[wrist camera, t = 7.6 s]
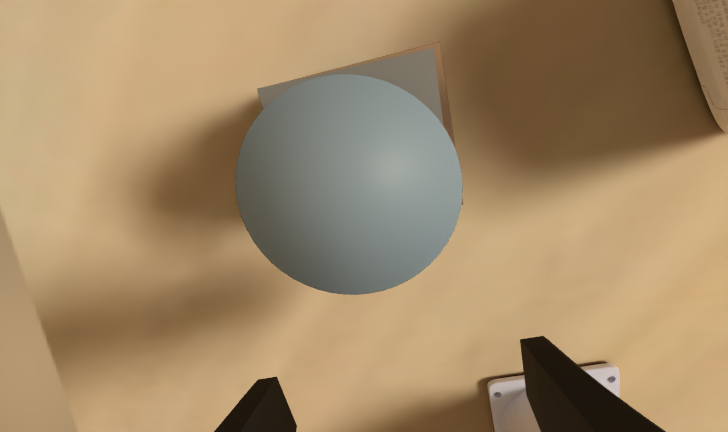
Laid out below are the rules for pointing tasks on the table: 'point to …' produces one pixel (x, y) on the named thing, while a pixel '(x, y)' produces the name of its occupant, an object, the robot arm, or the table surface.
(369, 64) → the block
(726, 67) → the cream book
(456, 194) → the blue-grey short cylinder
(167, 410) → the table surface
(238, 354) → the table surface
